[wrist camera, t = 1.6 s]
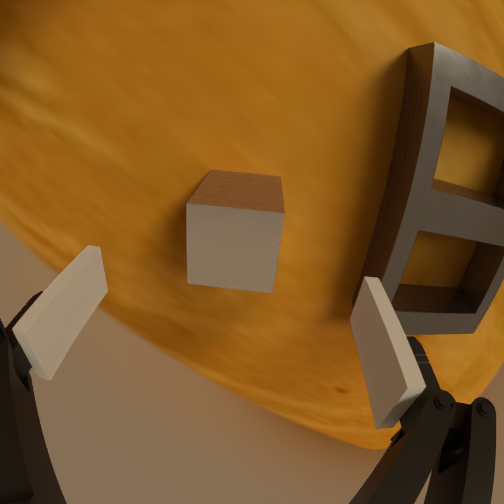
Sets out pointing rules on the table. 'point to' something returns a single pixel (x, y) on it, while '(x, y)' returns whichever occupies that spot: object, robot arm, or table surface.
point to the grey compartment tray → (438, 198)
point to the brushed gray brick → (235, 231)
